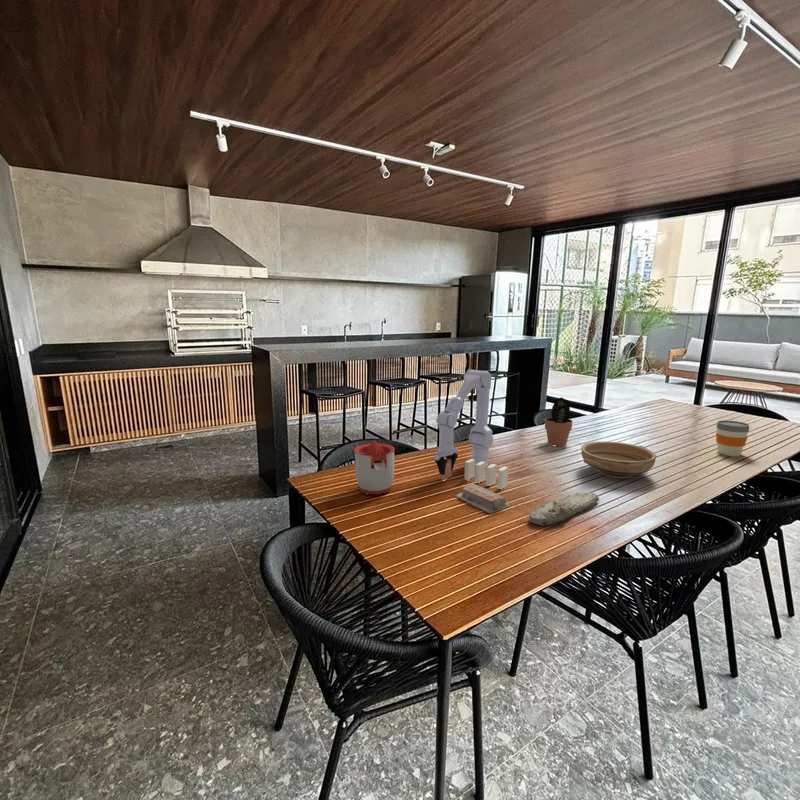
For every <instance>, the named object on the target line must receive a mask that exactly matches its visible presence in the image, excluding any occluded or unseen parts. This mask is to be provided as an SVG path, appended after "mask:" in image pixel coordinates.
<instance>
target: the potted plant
mask: <svg viewBox="0 0 800 800" xmlns="http://www.w3.org/2000/svg"><path fill="white" fill-rule="evenodd" d="M570 411H571V407H570V404H569V401H568V400H567V399H565V398H564V397H559V398H557V399H555V400H554V402H553V405H552V407H551V416H550V417H546V418H544V429H545V430H546V438H547V443H549V444H548V445H550V444H552V445H556V446H555V447H558V446H561V447H565V446H567V444H568V439H569V436H570V432H571V431H573V430H572V428H573V420H572V418H571V419H570ZM552 445H551V446H552ZM564 445H565V446H564Z"/></svg>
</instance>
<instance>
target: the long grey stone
mask: <svg viewBox="0 0 800 800" xmlns="http://www.w3.org/2000/svg"><path fill="white" fill-rule="evenodd" d="M599 501H600V498H599V496H598V494H596V493H595V492H589V491H588V492H578V493H575V494H573V495H572V494H571V495H569V496H566V497H564V498H562V499H558V500H552V501H547V502H545V503H544V504H542V505H540V506H539V507H536V508H534V509H533V511H531V512H530V513H529V515H528V520H529V522H530V523H532V524H534V525H537V526H538V525H539V526H541V527H542V526H547V525H548V526H549V525H555V524H556V523H557V524H558V523H559V522H564V521H565V520H567V519H568V518H570V517H574V515H576V513H579V512H581V513H582V512H583V510H587V509H589V508H590V507H593V506H595V505H596V504H597V502H599Z"/></svg>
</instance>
